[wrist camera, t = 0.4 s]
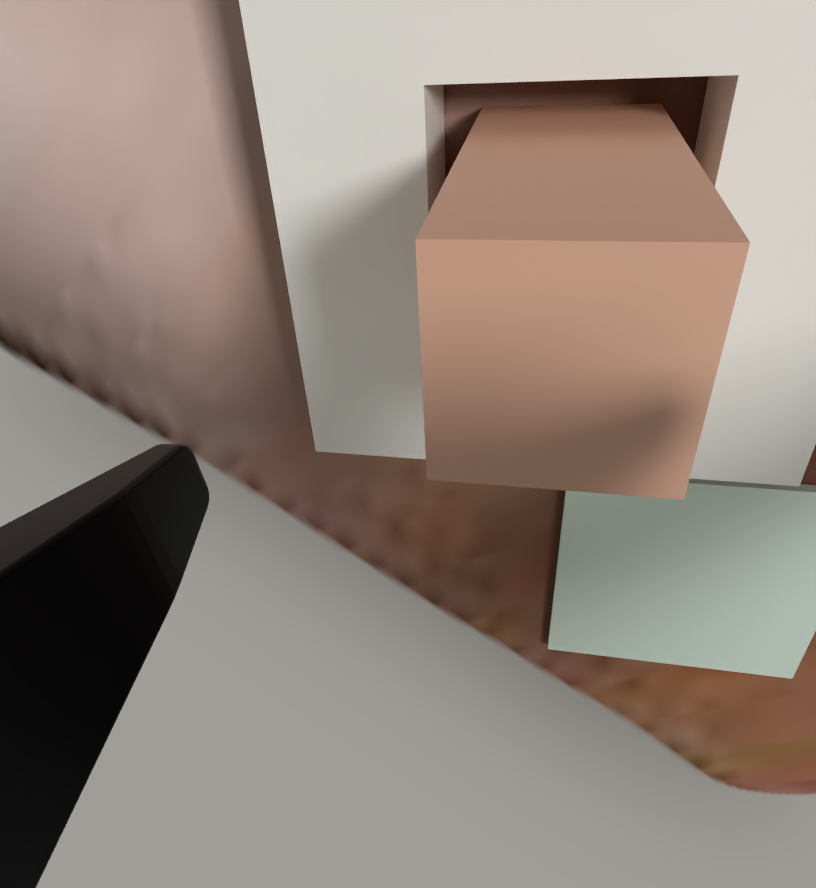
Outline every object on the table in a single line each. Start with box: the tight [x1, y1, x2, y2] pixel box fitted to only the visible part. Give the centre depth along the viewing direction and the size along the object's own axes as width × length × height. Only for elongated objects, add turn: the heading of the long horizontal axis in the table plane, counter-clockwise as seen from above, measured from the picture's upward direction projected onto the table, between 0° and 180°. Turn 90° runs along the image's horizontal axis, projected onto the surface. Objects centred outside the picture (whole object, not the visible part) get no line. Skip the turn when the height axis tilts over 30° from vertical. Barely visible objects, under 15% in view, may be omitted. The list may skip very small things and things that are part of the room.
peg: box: [415, 104, 750, 500], centre depth 14 cm, size 4×4×10 cm
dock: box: [239, 0, 816, 486], centre depth 17 cm, size 14×14×3 cm
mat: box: [548, 479, 816, 679], centre depth 26 cm, size 10×10×1 cm
